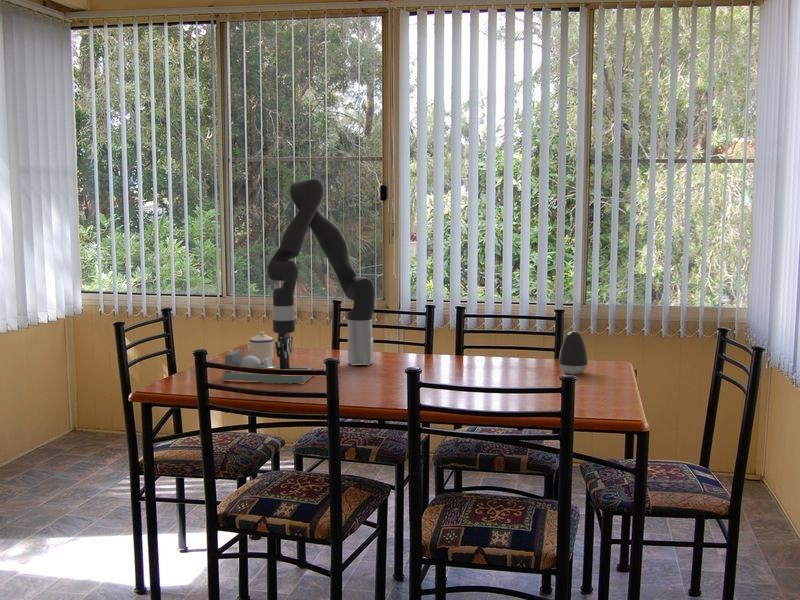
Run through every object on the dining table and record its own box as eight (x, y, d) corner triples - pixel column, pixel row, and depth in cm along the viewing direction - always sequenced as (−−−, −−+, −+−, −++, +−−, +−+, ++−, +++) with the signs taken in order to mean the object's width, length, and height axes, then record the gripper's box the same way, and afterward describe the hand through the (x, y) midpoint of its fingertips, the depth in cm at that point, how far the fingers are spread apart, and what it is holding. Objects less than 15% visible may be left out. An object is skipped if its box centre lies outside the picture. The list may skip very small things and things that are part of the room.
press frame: (314, 375, 294) (313, 350, 293) (303, 384, 280) (302, 358, 279) (238, 373, 298) (237, 348, 297) (223, 381, 284) (222, 355, 283)
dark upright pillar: (291, 376, 291) (291, 345, 290) (286, 380, 285) (286, 348, 283) (269, 375, 292) (268, 344, 291) (263, 379, 286) (263, 347, 285)
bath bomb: (236, 380, 286) (236, 357, 285) (240, 375, 294) (240, 353, 293) (260, 380, 286) (259, 357, 285) (263, 375, 294) (263, 353, 293)
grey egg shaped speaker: (577, 369, 305) (578, 328, 303) (592, 374, 295) (594, 332, 294) (553, 371, 302) (553, 329, 300) (567, 376, 292) (568, 334, 290)
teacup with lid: (277, 360, 324) (277, 330, 323) (267, 364, 315) (266, 334, 314) (250, 358, 328) (249, 329, 326) (238, 362, 319) (238, 332, 318)
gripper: (288, 321, 278) (289, 371, 280) (299, 315, 292) (300, 364, 294) (267, 320, 279) (268, 371, 281) (278, 315, 293) (279, 363, 295)
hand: (284, 367), depth 288 cm, fingers closed on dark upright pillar, 3 cm apart
